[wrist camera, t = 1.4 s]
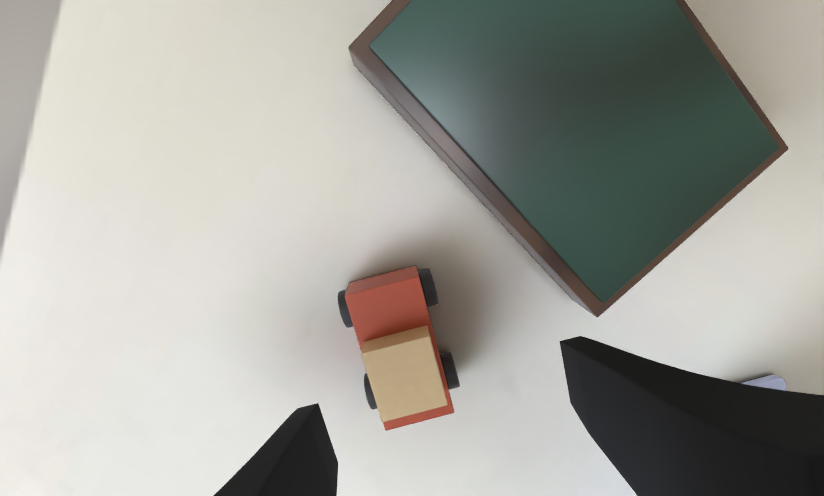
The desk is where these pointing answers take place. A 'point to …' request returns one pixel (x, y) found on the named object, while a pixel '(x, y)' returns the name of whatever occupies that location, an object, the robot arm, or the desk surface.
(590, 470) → the desk surface
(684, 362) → the desk surface
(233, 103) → the desk surface
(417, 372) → the toy car
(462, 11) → the green topped wooden block
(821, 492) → the robot arm
